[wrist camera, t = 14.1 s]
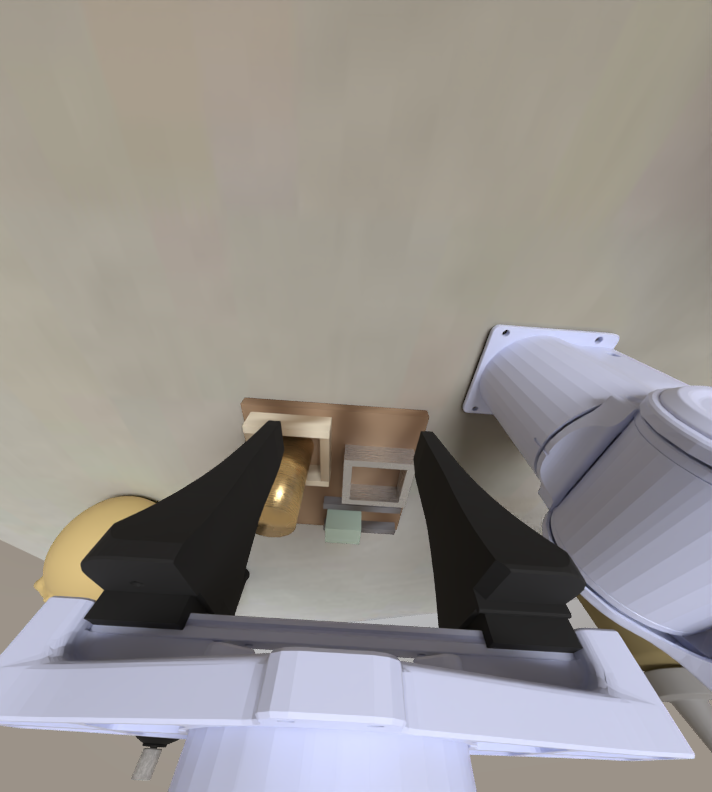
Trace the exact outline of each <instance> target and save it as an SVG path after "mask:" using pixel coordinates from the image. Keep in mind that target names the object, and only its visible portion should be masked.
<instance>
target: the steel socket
mask: <svg viewBox="0 0 712 792" xmlns="http://www.w3.org/2000/svg"><path fill="white" fill-rule="evenodd" d="M414 454H415V453H414V449H403V448H389V447H375V446H360V445H345V456H344V471H343V488H342V504H355V505H370V506H385V507H400V508H405V505H406V501H407V498H408V494H409V491H410V488H411V484H412V481H413V478H414V474H415V471H414V461H413V458H414ZM352 466H354V467H369V468H384V469H398V470H400V474H399V478H398V482H397V486H396V487H392V486H378V485H363V484H351V475H352Z"/></svg>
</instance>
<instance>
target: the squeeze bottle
mask: <svg viewBox="0 0 712 792" xmlns="http://www.w3.org/2000/svg"><path fill="white" fill-rule="evenodd" d="M576 597H577V598H578V599H579V601H580V602H581V603H582V605H583V607H584V608H585V610H586V611H587V613H588V614H589V616H590V617H591V619H592V620H593V621H594V623H595V624H596V626H597V627H598V629H613V630H615V631H617V632H618V633H619V635H620V636H621V638H622V640H623V641H624V643H625V644H626V646H627V647H628V649H629V651H630V652H631V654H632V655H633V657H634V659H635V660H636V662H637V663H638V665H639V666H640V668H641V670H642V671H644V672H643V673H644V674H645V676H646V678H647V679H648V681H649V682H650V684H651V686H652V687H653V689H654V690H655V692H656V693H657V695H658V697H659V698H660V700H661V701H662V702H670V703H672V705H673V706H674V707H675V708H676V710H677V711H678V712H679V713H680V714H681V715H682V717H683V718H684V719H685V720H686V722H687V723H688V724H689V725H690V726H691V728H692V729H693V730H694V731H695V733H696V734H697V735H698V736H699V737H700V739H701V740H702V741H703V742H704V743H705V745H706V746H707V747H708V748H709V750H710V751H711V752H712V707H711V705H710V703H709V700H712V692H711V691H710V690H709V689H708V688H707V687H706V686H704V685H703V684H702V683H701V682H700V681H699V680H698V679H697V678H696V677H694V676H693V675H692V674H691V673H690V672H689V671H687V670H686V669H685V668H684V667H683V666H682V665H680V664H679V663H678V662H677V661H676V660H674V659H673V658H672V657H670V656H669V655H668V654H666V653H665V652H664V651H662V650H661V649H659V648H658V647H656V646H655V645H653V644H652V643H650V642H649V641H647V640H645V639H643V638H642V637H640V636H638V635H636V634H634V633H633V632H631V631H629V630H627V629H625V628H624V627H622V626H620V625H618V624H617V623H615V622H614V621H613V620H611V619H610V618H608V617H607V616H605V615H604V614H603V613H601V612H600V611H599V610H598V609H596V608H595V607H594V606H593V605H591V604H590V603H589V602H588V601H587V600H586V599H585V598H584V597H583V596H582V595H581V594H579V595H578V596H576Z"/></svg>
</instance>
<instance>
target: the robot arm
mask: <svg viewBox="0 0 712 792" xmlns="http://www.w3.org/2000/svg"><path fill="white" fill-rule="evenodd" d="M505 330H507V333H506V334H504V335H502V333H503V332H504V331H505ZM598 337H599V338H598ZM597 338H598V340H596V339H597ZM595 340H596V341H595ZM618 341H619V336H618V335H616V334H614V333H604V332H591V331H577V330H564V329H551V328H538V327H525V326H512V325H496V326H494V327H493V328H492V329H491V331H490V334H489V337H488V339H487V342H486V345H485V348H484V350H483V353H482V356H481V358H480V361H479V364H478V366H477V369H476V372H475V374H474V377H473V380H472V382H471V385H470V388H469V390H468V393H467V396H466V398H465V401H464V404H463V410H464V411H465V412H467V413H480V414H494V416H495V417H496V419H497V420H498V422H499V423H500V424H501V426H502V427H503V429H504V430H505V431H506V433H507V434H508V436H509V437H510V439H511V440H512V441H513V443H514V444H515V446H516V447H517V449H518V450H519V451H520V453H521V454H522V456H523V457H524V459H525V460H526V461H527V463H528V464H529V466H530V467H531V468H532V470H533V471H534V473H535V474H536V476H537V477H538V478H539V480H540V482H541V486H540V489H539V491H538V494H539V495H540V497H541V498H542V500H543V501H544V503H545V504H546V506H547V507H548V509H549V511H548V512H547V514H546V515H545V517H544V519H543V523H542V533H543V536H541V535H540V534H538V533H537V532H536V531H534V530H533V529H531V528H530V527H529V526H527V525H526V524H524V523H523V522H522V521H520V520H519V519H518V518H516V517H515V516H514V515H512V514H511V513H510V512H509V511H507V510H506V509H505V508H504V507H503V506H501V505H500V504H499V503H498V502H497V501H495V500H494V499H493V498H492V497H491V496H490V495H489V494H488V493H486V492H485V491H484V490H483V489H482V488H481V487H480V486H479V485H478V484H477V483H476V482H475V481H474V480H473V479H472V478H471V477H470V476H469V475H468V474H467V473H466V472H465V471H464V469H463V468H462V467H461V466H460V465H459V464H458V463H457V461H456V460H455V459H454V458H453V457H452V455H451V454H450V453H449V452H448V451H447V449H446V448H445V447H444V445H443V444H442V443H441V442H440V440H439V439H438V438H437V436H436V435H435V434H434V433H433V432H429V431H421V433H420V436H419V440H418V443H417V447H416V450H415V454H414V458H413V461H414V471H415V478H416V482H417V486H418V490H419V494H420V498H421V502H422V507H423V511H424V515H425V519H426V524H427V529H428V535H429V542H430V549H431V557H432V565H433V573H434V582H435V591H436V602H437V613H438V625H439V628H430V627H413V626H396V625H380V624H364V623H347V622H331V621H314V620H298V619H281V618H264V617H248V616H235V611H236V607H237V603H238V598H239V594H240V590H241V586H242V581H243V578H244V574H245V570H246V566H247V562H248V558H249V554H250V551H251V547H252V544H253V540H254V536H255V533H256V530H257V526H258V523H259V520H260V516H261V514H262V511H263V508H264V505H265V503H266V501H267V498H268V496H269V493H270V491H271V488H272V486H273V483H274V481H275V478H276V476H277V473H278V471H279V468H280V465H281V461H282V457H283V453H284V443H283V435H282V427H281V421H272V420H269V421H267V422H266V423H265V424H264V425H263V426H262V427H261V428H260V429H259V430H258V431H257V432H256V433H255V434H254V435H253V436H251V437H250V438H249V439H248V440H247V441H246V442H245V443H244V444H243V445H242V446H241V447H239V448H238V449H237V450H236V451H235V452H234V453H232V454H231V455H230V456H229V457H227V458H226V459H225V460H224V461H223V462H221V463H220V464H219V465H217V466H216V467H215V468H213V469H212V470H211V471H209V472H208V473H206V474H205V475H203V476H202V477H200V478H199V479H197V480H196V481H194V482H192V483H191V484H189V485H187V486H186V487H184V488H183V489H181V490H179V491H178V492H176V493H174V494H172V495H171V496H169V497H167V498H165V499H163V500H161V501H159V502H158V503H156V504H154V505H152V506H150V507H148V508H146V509H144V510H142V511H139V512H137V513H135V514H133V515H131V516H129V517H127V518H125V519H122V520H120V521H118V522H116V523H114V524H113V525H112V526H111V527H110V528H109V529H108V531H107V532H106V533H105V534H104V535H103V536H102V538H101V539H100V540H99V541H98V542H97V543H96V545H95V546H94V547H93V548H92V549H91V550H90V552H89V553H88V554H87V555H86V556H85V557H84V559H83V560H82V561H81V563H80V566H81V570H82V572H83V573H84V574H85V575H86V576H87V577H89V578H90V579H91V580H92V581H93V582H95V583H96V584H97V585H98V586H100V587H101V588H102V589H103V590H104V591H103V592H102V594H101V595H100V596H99V598H98V599H97V601H96V600H93V599H90V598H84V597H69V596H52V597H50V598H49V599H48V600H47V601H46V603H45V604H44V605H43V606H42V608H40V610H39V611H38V612H37V613H36V614H35V615H34V617H33V618H32V619H31V620H30V621H29V622H28V624H27V625H26V626H25V627H24V628H23V629H22V631H21V632H20V633H19V634H18V635H17V636H16V638H15V639H14V640H13V641H12V642H11V643H10V645H9V646H8V647H7V648H6V649H5V650H4V652H3V653H2V654H1V655H0V726H8V727H14V728H29V729H45V730H63V731H77V732H92V733H107V734H121V735H134V736H148V737H161V738H175V739H186V741H185V744H184V747H183V750H182V753H181V755H180V758H179V761H178V764H177V767H176V770H175V773H174V776H173V778H172V781H171V784H170V787H169V790H168V792H477V790H476V786H475V781H474V775H473V770H472V765H471V761H470V755H497V756H499V755H501V756H527V757H554V758H578V759H602V760H621V761H645V760H671V759H694V757H695V754H694V752H693V751H692V749H691V747H690V746H689V744H688V743H687V741H686V740H685V738H684V736H683V735H682V733H681V732H680V730H679V728H678V727H677V725H676V724H675V722H674V721H673V719H672V717H671V716H670V714H669V713H668V711H667V709H666V708H665V706H664V705H663V703H662V701H661V700H660V698H659V697H658V695H657V693H656V692H655V690H654V689H653V687H652V686H651V684H650V682H649V681H648V679H647V678H646V676H645V674H644V673H643V671H642V670H641V668H640V666H639V665H638V663H637V662H636V660H635V659H634V657H633V655H632V654H631V652H630V651H629V649H628V647H627V646H626V644H625V643H624V641H623V640H622V638H621V636H620V635H619V633H618V632H617V631H615V630H613V629H596V628H578V629H574V630H573V628H572V626H571V624H570V622H569V620H568V618H571V613H570V611H569V609H568V607H567V605H566V603H567V602H569V601H570V600H572V599H573V598H575V597H576V596H578V595H579V594H581V595H582V596H583V597H584V598H585V599H586V600H587V601H588V602H589V603H590V604H591V605H593V606H594V607H595V608H596V609H598V610H599V611H600V612H601V613H603V614H604V615H605V616H607V617H608V618H610V619H611V620H613V621H614V622H615V623H617V624H618V625H620V626H622V627H624V628H625V629H627V630H629V631H631V632H633V633H634V634H636V635H638V636H640V637H642V638H643V639H645V640H647V641H649V642H650V643H652V644H653V645H655V646H656V647H658V648H659V649H661V650H662V651H664V652H665V653H666V654H668V655H669V656H670V657H672V658H673V659H674V660H676V661H677V662H678V663H679V664H680V665H682V666H683V667H684V668H685V669H686V670H687V671H689V672H690V673H691V674H692V675H693V676H694V677H696V678H697V679H698V680H699V681H700V682H701V683H702V684H703V685H704V686H706V687H707V688H708V689H709V690H710V691H711V692H712V387H709V386H690V385H688V384H686V383H684V382H682V381H679V380H677V379H675V378H673V377H671V376H669V375H667V374H665V373H663V372H661V371H658V370H656V369H654V368H652V367H650V366H648V365H646V364H644V363H642V362H639V361H637V360H635V359H633V358H631V357H629V356H627V355H625V354H623V353H620V352H618V351H616V350H614V349H613V348H614V347H615V346H616V344H617V343H618ZM473 407H476V408H474V409H472V408H473ZM253 649H266V650H273V651H272V652H271V653H262V654H255V652H254V650H253ZM397 657H403V658H415V659H414V661H413V662H414V663H411V662H405V661H400V660H399V659H398V658H397Z"/></svg>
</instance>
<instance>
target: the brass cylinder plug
mask: <svg viewBox="0 0 712 792" xmlns="http://www.w3.org/2000/svg"><path fill="white" fill-rule="evenodd" d="M283 443H284V453H283V457H282V461H281V465H280V468H279V471H278V473H277V476H276V478H275V481H274V483H273V486H272V488H271V491H270V493H269V496H268V498H267V501H266V503H265V505H264V508H263V511H262V514H261V516H260V520H259V523H258V526H257V530H256V534H259V535H262V536H267V537H282V536H286V535H289V534H291V533H292V532H293V531H294V530H295V527H296V523H297V519H298V515H299V510H300V506H301V502H302V497H303V493H304V489H305V484H306V480H307V476H308V471H309V467H310V463H311V459H312V454H313V450H314V443H313V441H312V439H311V438H309V437H294V436H283Z"/></svg>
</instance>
